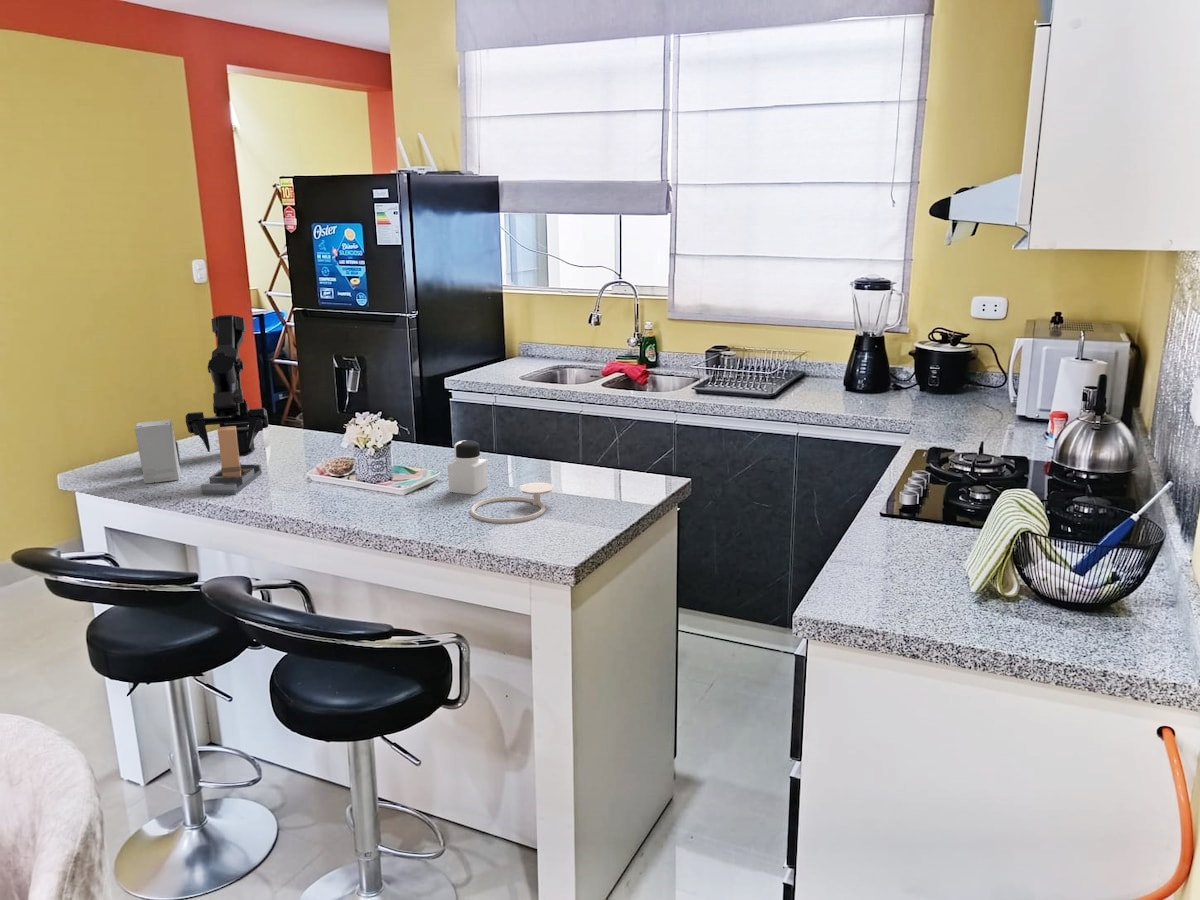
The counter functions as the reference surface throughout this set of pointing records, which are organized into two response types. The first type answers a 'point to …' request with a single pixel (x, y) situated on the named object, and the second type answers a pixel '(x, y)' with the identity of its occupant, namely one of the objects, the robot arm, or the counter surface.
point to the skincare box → (157, 451)
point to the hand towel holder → (525, 488)
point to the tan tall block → (229, 451)
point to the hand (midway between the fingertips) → (228, 449)
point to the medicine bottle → (467, 469)
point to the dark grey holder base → (231, 481)
